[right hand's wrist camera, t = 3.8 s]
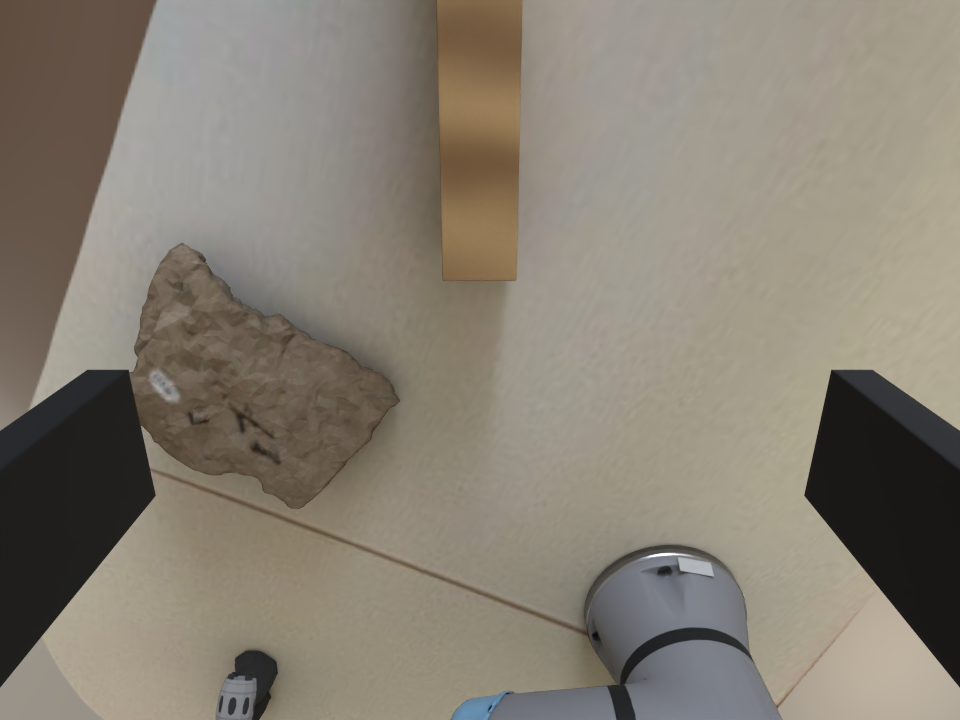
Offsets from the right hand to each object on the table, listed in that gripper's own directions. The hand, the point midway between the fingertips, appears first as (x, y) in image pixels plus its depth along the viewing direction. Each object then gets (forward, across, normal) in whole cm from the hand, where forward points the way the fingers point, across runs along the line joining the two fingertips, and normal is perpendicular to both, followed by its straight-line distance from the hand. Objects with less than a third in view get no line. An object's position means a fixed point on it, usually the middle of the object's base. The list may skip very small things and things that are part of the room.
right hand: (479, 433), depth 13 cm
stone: (+40, +18, +16) cm, 47 cm away
